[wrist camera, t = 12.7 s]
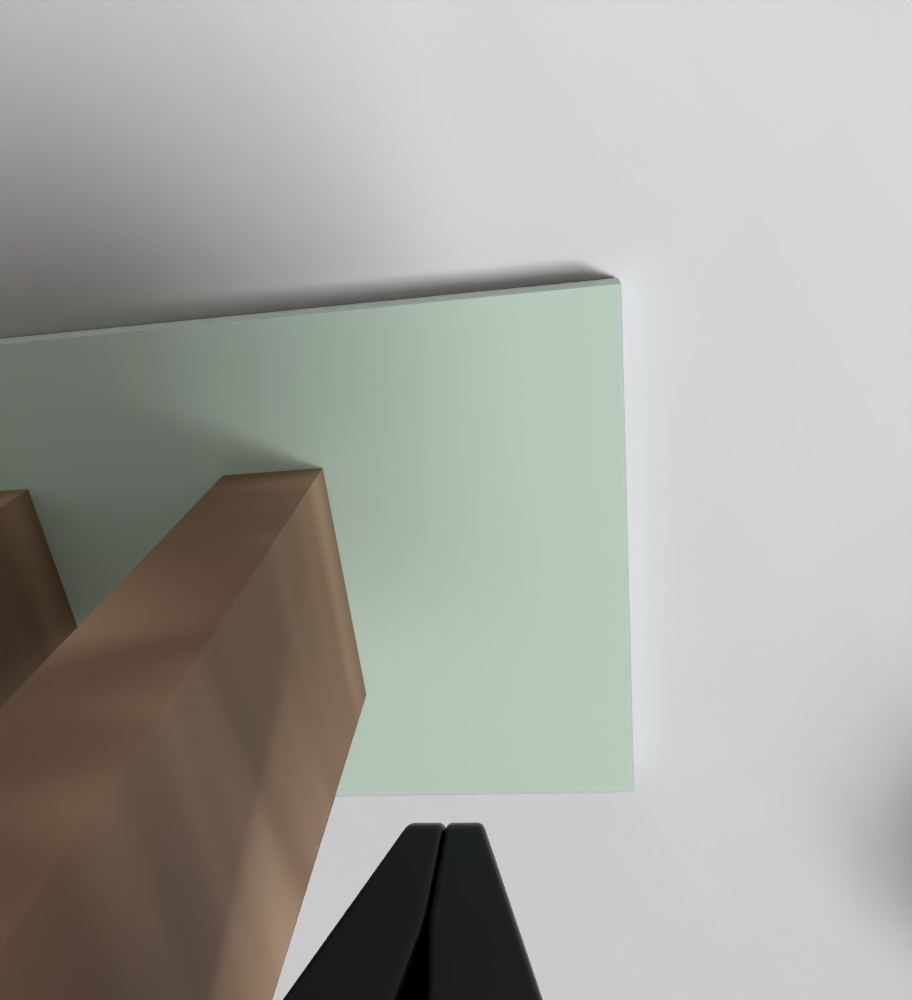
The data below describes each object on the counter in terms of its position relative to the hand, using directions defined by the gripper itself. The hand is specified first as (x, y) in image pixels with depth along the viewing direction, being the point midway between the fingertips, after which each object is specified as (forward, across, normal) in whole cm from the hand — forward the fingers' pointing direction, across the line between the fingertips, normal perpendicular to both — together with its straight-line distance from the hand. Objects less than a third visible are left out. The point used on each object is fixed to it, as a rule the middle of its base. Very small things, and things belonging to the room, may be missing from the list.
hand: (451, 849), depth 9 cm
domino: (+6, +3, 0) cm, 7 cm away
